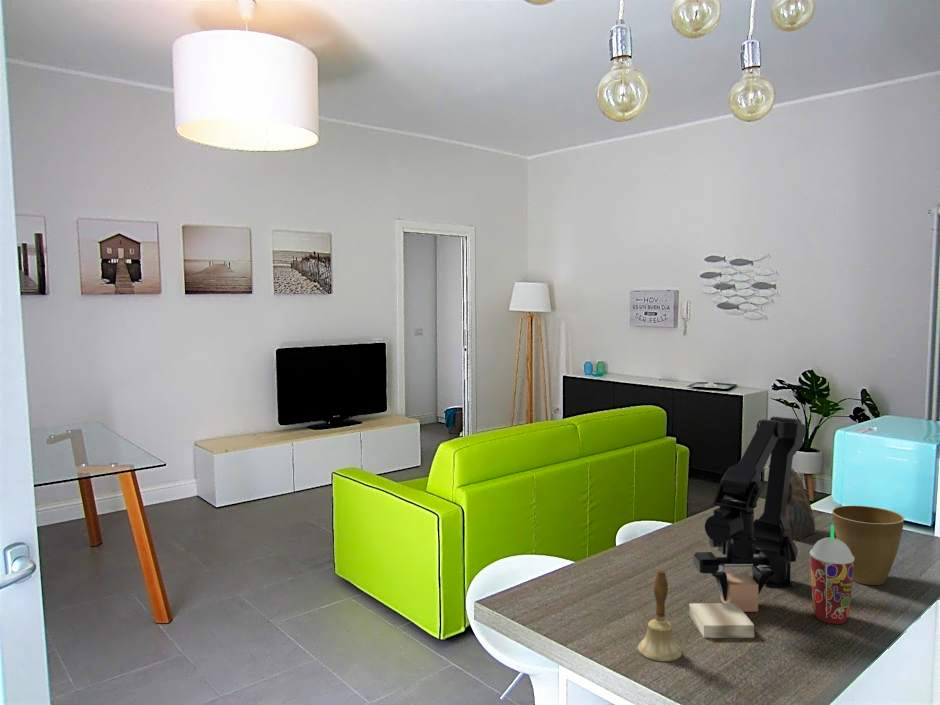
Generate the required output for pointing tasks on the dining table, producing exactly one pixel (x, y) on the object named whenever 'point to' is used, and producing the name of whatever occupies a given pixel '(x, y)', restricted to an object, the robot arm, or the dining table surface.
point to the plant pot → (869, 540)
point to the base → (721, 620)
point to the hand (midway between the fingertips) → (739, 599)
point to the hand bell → (660, 628)
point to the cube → (742, 592)
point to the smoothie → (831, 579)
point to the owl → (798, 509)
